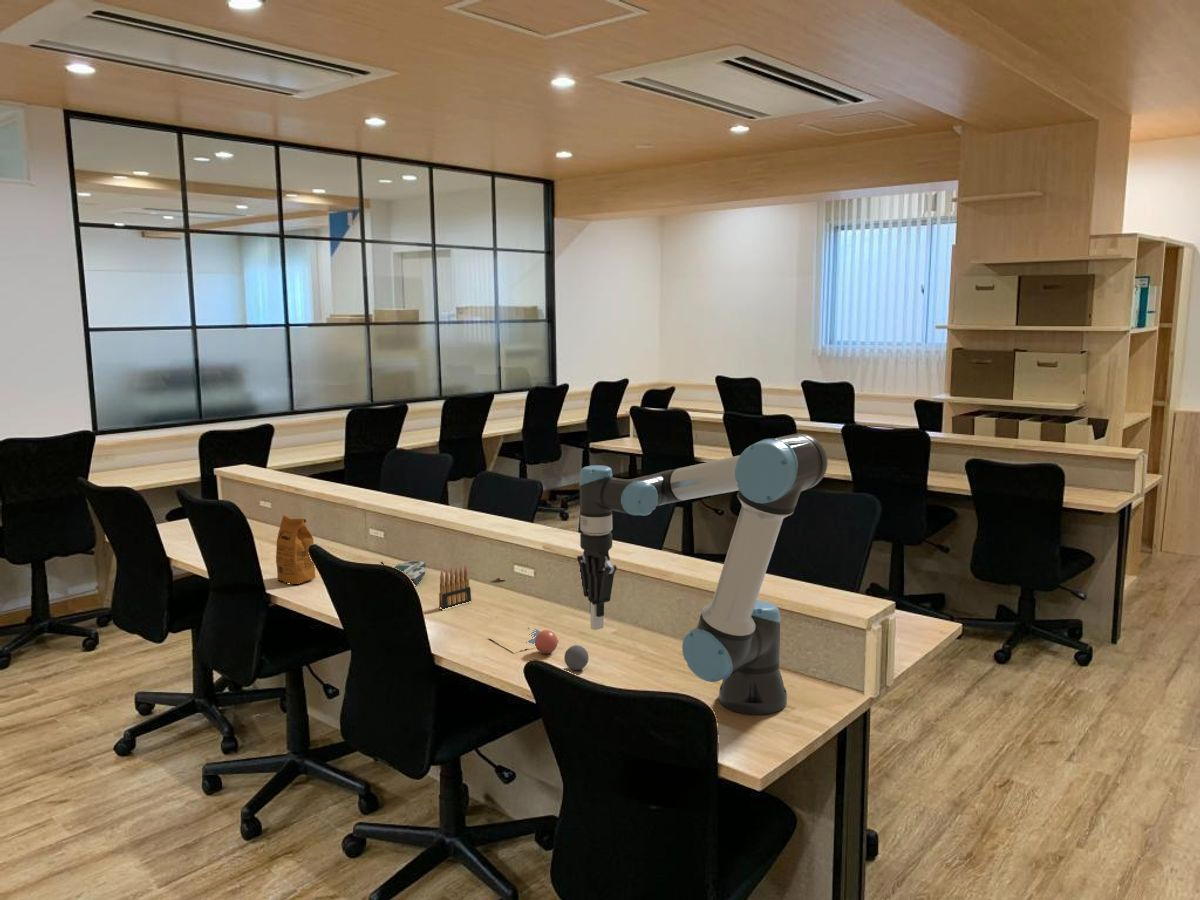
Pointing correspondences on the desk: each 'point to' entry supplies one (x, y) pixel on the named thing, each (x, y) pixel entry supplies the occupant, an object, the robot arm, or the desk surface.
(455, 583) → the ammunition clip
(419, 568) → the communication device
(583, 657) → the gray ball
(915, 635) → the desk surface
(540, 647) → the object ball
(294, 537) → the coffee package
